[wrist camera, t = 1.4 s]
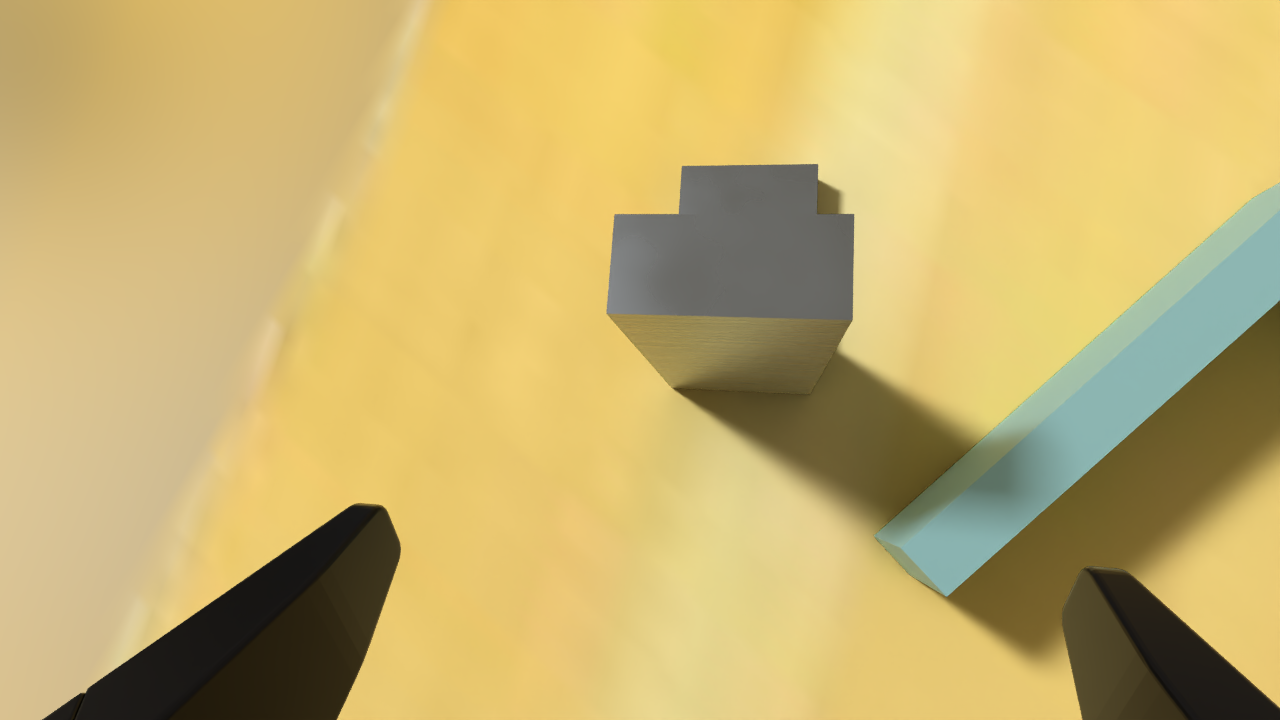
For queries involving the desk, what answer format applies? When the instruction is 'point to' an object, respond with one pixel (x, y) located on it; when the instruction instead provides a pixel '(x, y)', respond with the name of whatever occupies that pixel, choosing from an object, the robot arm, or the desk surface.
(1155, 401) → the teal corner wall
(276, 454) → the desk surface
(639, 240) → the grey l-shaped block
